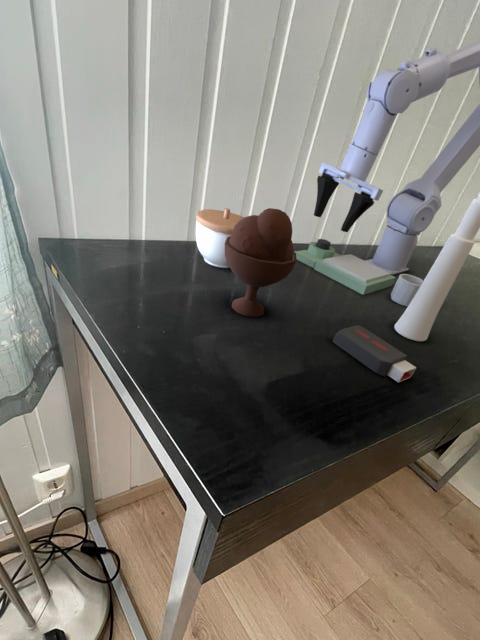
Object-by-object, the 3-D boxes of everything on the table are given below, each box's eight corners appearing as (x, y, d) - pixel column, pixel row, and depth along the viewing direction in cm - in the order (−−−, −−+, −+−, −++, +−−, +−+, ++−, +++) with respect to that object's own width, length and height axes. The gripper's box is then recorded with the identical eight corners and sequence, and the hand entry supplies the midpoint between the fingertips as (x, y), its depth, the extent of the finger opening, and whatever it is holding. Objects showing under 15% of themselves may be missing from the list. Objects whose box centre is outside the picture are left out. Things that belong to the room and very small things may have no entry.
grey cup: (396, 293, 82) (407, 272, 79) (420, 304, 79) (431, 283, 76) (384, 297, 78) (394, 275, 75) (408, 309, 76) (420, 288, 73)
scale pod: (322, 252, 93) (326, 240, 91) (342, 262, 90) (347, 249, 88) (292, 257, 85) (296, 243, 83) (313, 268, 83) (317, 254, 81)
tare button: (320, 245, 88) (322, 238, 86) (330, 250, 86) (333, 243, 85) (313, 246, 86) (315, 239, 85) (323, 251, 84) (325, 244, 83)
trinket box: (180, 256, 72) (185, 201, 66) (213, 247, 80) (221, 197, 73) (225, 277, 69) (234, 222, 63) (255, 266, 76) (267, 215, 70)
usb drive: (352, 336, 62) (359, 321, 60) (413, 377, 56) (422, 361, 54) (332, 341, 59) (338, 325, 57) (393, 385, 53) (402, 369, 51)
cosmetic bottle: (415, 325, 70) (490, 191, 56) (433, 343, 66) (519, 203, 52) (387, 322, 69) (457, 184, 54) (404, 340, 64) (484, 195, 50)
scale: (345, 263, 90) (349, 251, 88) (391, 286, 85) (397, 274, 83) (313, 269, 82) (317, 257, 81) (362, 295, 77) (368, 282, 75)
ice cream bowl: (279, 301, 66) (306, 206, 56) (279, 331, 58) (310, 226, 48) (220, 287, 65) (236, 189, 55) (211, 316, 57) (228, 206, 47)
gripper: (325, 132, 73) (295, 207, 82) (386, 159, 68) (348, 236, 76) (342, 141, 78) (312, 211, 87) (400, 167, 73) (363, 239, 81)
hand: (330, 223), depth 82 cm, fingers open, 7 cm apart
